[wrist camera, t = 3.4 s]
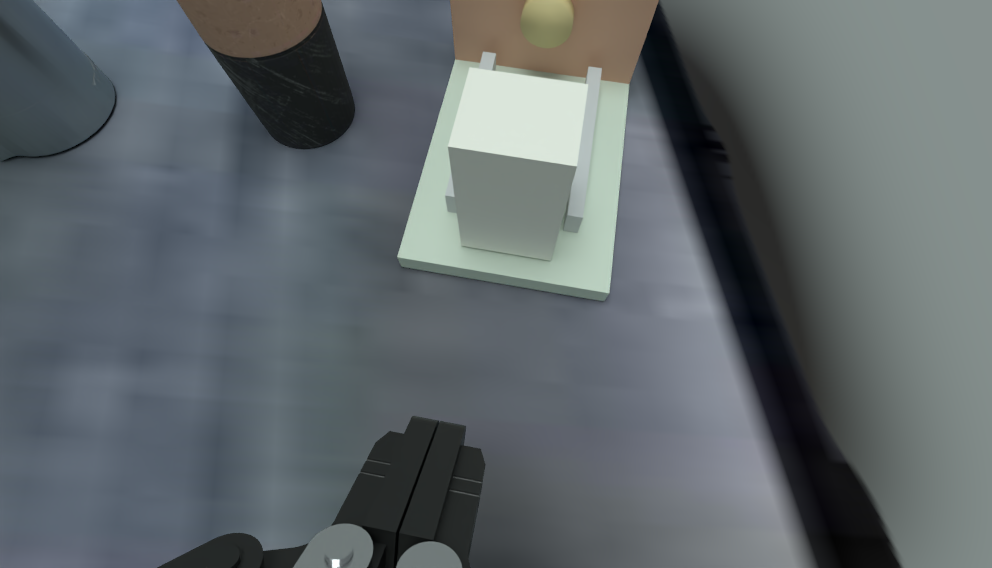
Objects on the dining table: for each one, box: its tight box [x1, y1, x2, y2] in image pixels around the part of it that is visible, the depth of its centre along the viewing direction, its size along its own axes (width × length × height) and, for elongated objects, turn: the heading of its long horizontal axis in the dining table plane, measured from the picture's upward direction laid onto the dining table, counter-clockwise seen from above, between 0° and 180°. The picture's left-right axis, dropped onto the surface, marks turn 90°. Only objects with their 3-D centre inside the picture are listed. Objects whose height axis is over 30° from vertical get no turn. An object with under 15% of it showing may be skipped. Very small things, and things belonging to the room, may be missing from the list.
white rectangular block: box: [448, 67, 588, 261], centre depth 27 cm, size 5×6×10 cm
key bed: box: [397, 0, 659, 301], centre depth 30 cm, size 22×14×12 cm, turn 170°
